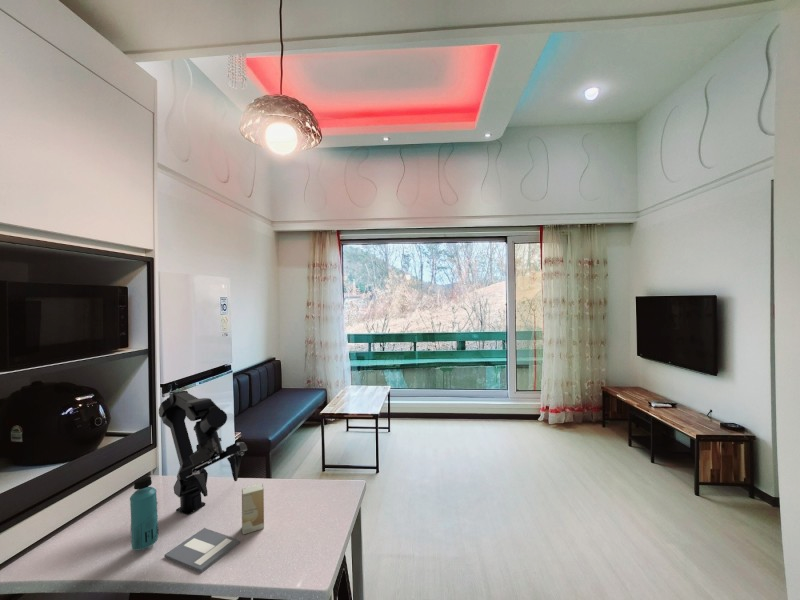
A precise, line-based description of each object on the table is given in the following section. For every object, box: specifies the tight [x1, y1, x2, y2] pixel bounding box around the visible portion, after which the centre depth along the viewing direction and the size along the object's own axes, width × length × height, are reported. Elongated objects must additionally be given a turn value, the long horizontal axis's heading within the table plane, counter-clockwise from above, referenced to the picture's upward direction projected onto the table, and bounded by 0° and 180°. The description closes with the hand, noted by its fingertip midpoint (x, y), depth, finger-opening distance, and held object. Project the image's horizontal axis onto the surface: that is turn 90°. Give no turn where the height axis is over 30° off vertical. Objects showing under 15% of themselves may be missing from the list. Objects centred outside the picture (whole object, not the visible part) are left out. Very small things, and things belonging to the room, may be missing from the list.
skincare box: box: [241, 482, 265, 535], centre depth 107 cm, size 6×4×12 cm
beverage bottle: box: [129, 475, 159, 551], centre depth 99 cm, size 6×7×20 cm
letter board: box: [163, 527, 241, 574], centre depth 98 cm, size 15×12×1 cm
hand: (221, 488), depth 103 cm, fingers open, 9 cm apart
